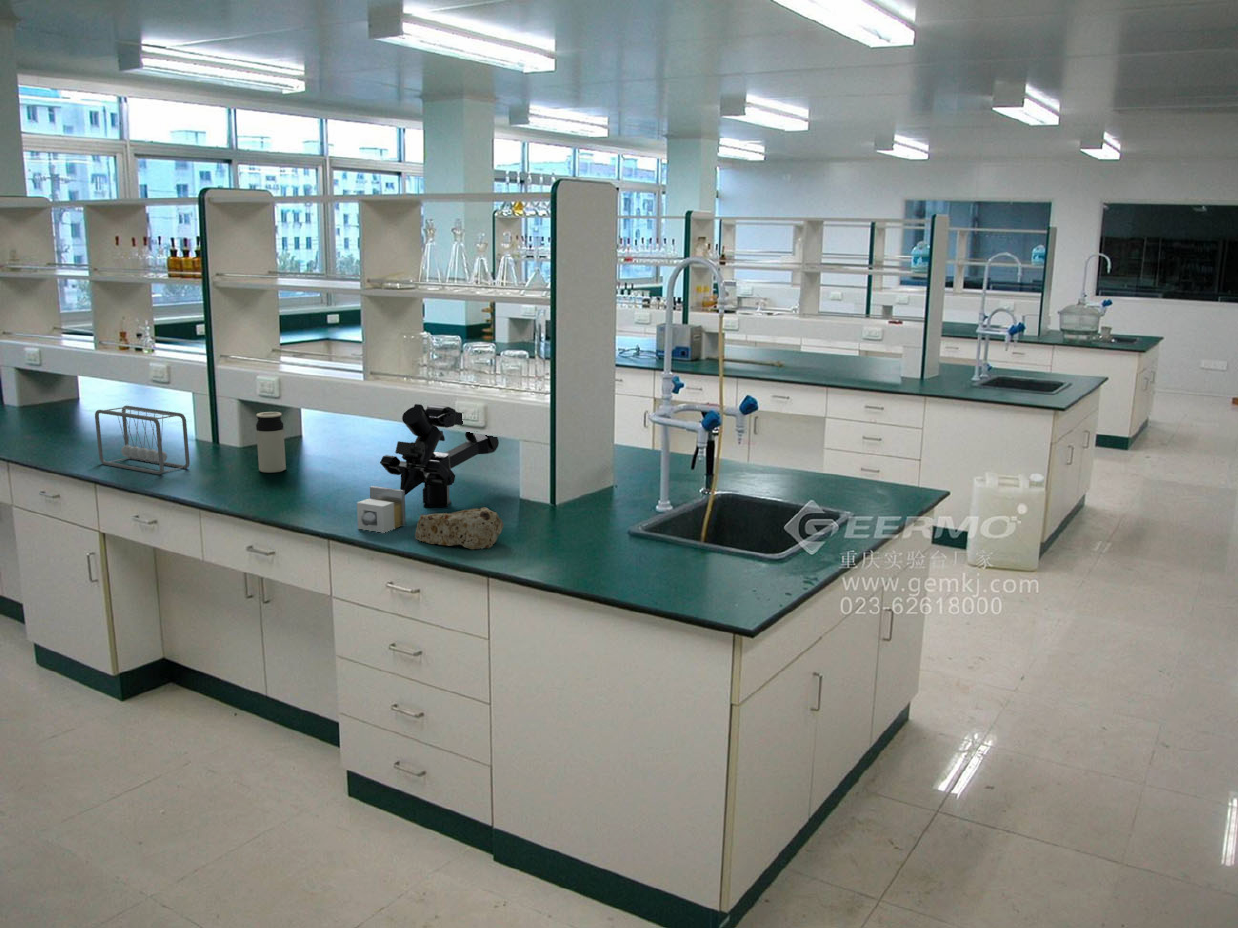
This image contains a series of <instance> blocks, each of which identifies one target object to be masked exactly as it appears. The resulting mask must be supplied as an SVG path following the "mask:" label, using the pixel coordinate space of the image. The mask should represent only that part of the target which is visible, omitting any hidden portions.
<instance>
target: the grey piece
mask: <svg viewBox="0 0 1238 928" xmlns="http://www.w3.org/2000/svg"><path fill="white" fill-rule="evenodd" d="M369 499H375V500H382V501H388V502H394V504H400V505H401V527H402V526H406V525H407V522H406V518H407V517H406V495H405V490H400V489H397V488H396V489H395V488H392V487H391V488H390V487H383V486H376V485H371V486H369ZM361 521H362V523H363V524H364V525H366V526H367V525H370V524H373V523H375V522H377V512H373V511H371V512H368V513H365V514H363V515H362V516H361Z"/></svg>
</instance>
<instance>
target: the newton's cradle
mask: <svg viewBox="0 0 1238 928" xmlns="http://www.w3.org/2000/svg"><path fill="white" fill-rule="evenodd" d="M117 410H121V411H117ZM127 411H129V412H127ZM132 411H133V413H132ZM135 412H137V413H135ZM140 413H142V415H141V414H140ZM143 413H144V414H145V415H144V414H143ZM100 414H103V415H110V416H116V417H117V419H118V422H119V426H120V428H121V429H120V430H121V433H122V436H123V441H124V446H122V448H121V449H120V453H121V454H122V456H123V457H125V458H121V459H115V460H111V461H106V460H105V459H104V454H103V451H104V450H103V444H102V443H103V442H102V434H101V433H102V432H101V425H100V424H101V423H100ZM149 414H152V415H150V416H148V415H149ZM153 414H154V415H153ZM159 415H161V416H162V417H156V416H159ZM119 417H122V425H121V421H120V418H119ZM173 417H180V419H181V423H182V432H183V434H182V435H183V443H184V444H183V445H184V457H185V458H184V460H185V464H180V463H179V464H178V463H173V462H168V461H166V460H167V459H168V455H167V453H166V452H165V451H163V445H162V444H163V442H162V440H163V434H162V430H161V428H163V426H164V425H163V422H164V419H168V418H173ZM127 418H129V419H133V421H134V425H135V429H136V436H135V437H136V438H135V443H137V441H138V439H139V443H140V447H141V448H140V447H138V446H137V445H135V444H134V441H133V437H132V435H131V429H130V428H131V427H130V426H131V421H128V420H127ZM94 419H95V422H94V423H95V429H96V432H95V433H96V439H97V441H96V442H97V449H98V450H97V451H98V458H99V461H100V462H101V464H102V465H104V466H109V467H113V468H114V467H115V468H120V469H125V470H126V469H127V470H131V471H136V472H142V473H146V474H153V475H162V474H163V473H167V472H171V471H172V472H173V471H176V470H180V469H182V470H186V469H188V468H189V467H190V463H191V462H190V452H189V450H190V449H189V438H188V437H189V435H188V427H187V419H186V416H185V415H184V414H183V413H181V412H176V411H175V412H174V411H169V410H168V411H167V410H160V409H154V408H148V407H147V408H146V407H141V406H140V407H139V406H133V405H124V406H121V407H115V408H110V409H98V410H96V411H95V412H94ZM135 419H136V420H141V423H142V426H143V429H144V438H143V444H146V443H145V441H147V445H148V448H146V447H145V446H142V442H141V438H140V434H139V431H138V429H139V427H138V426H139V421H137V424H136V420H135ZM159 420H162V421H161V423H160V421H159ZM143 421H149V422H150V425H151V426H150V427H151V428H152V434H153V438H151V439H152V443H151V447H153V444H154V443H153V442H154V439H155V443H156V447H157V450H156V449H154V448H150V444H149V439H148V435H147V432H146V429H147V422H145V426H144V422H143ZM128 422H129V423H128ZM152 422H153V423H154V425H152ZM154 430H155V431H156V436H155V431H154ZM129 438H131V441H132V445H133V446H131V445H130V444H129V440H130V439H129ZM125 460H133V461H138V460H140V461H139V462H143V461H145V462H144V463H149V462H150V463H151V464H154V463H155V465H159V470H155V469H151V468H150V469H149V468H143V467H137V466H133V465H126V464H122V463H116V462H120V461H125ZM150 463H149V464H150ZM164 466H167V467H171V466H172V468H171V469H168V470H167V469H166V470H164V469H165V467H164Z"/></svg>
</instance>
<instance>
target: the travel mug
mask: <svg viewBox="0 0 1238 928" xmlns="http://www.w3.org/2000/svg"><path fill="white" fill-rule="evenodd" d="M255 416H256V418H257V422H256V424H255V427H256V428H255V430H256V446H257V447H256V448H257V457H258V458H257V460H258V471H259V472H261V473H263V474H276V473H281V472H283V471H285V470H286V469H287V466H286V450H285V449H286V448H285V434H284V433H285V431H284V422H283V421H282V412H279V411H265V412H258V413H256V415H255Z"/></svg>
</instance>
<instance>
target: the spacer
mask: <svg viewBox="0 0 1238 928" xmlns="http://www.w3.org/2000/svg"><path fill="white" fill-rule="evenodd" d="M394 517H395V529H398V528H399V527H402V525H401V505H400V504H394Z"/></svg>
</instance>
